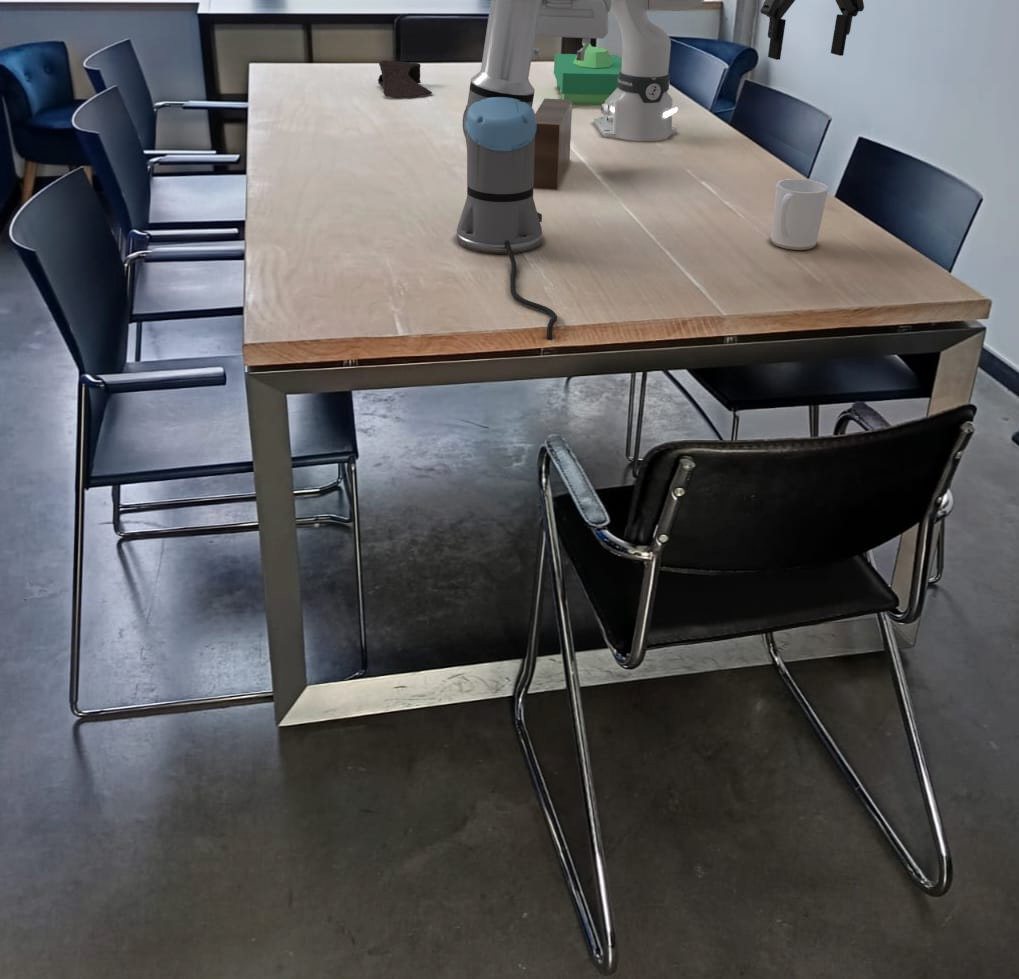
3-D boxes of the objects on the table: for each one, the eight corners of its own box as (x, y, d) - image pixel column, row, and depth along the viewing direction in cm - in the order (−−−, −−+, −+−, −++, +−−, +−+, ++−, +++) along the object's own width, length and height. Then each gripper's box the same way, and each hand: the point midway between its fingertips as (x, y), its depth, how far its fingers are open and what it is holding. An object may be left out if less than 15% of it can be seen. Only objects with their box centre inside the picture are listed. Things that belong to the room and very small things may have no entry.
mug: (782, 231, 203) (791, 175, 197) (827, 242, 198) (837, 185, 193) (753, 245, 196) (761, 188, 190) (799, 257, 191) (809, 198, 185)
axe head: (443, 87, 294) (392, 77, 287) (436, 115, 299) (385, 106, 292) (421, 62, 307) (371, 52, 300) (414, 89, 311) (365, 80, 304)
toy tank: (614, 36, 311) (632, 59, 281) (611, 81, 317) (628, 108, 287) (553, 34, 310) (563, 57, 280) (550, 80, 316) (561, 107, 286)
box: (556, 189, 223) (559, 124, 217) (527, 187, 224) (529, 122, 217) (569, 160, 243) (572, 99, 236) (542, 158, 244) (544, 98, 237)
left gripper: (871, -80, 192) (849, 49, 203) (751, -78, 183) (735, 56, 194) (899, -76, 186) (875, 56, 197) (777, -74, 177) (758, 64, 189)
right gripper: (613, -14, 221) (608, 58, 229) (513, -18, 224) (512, 53, 231) (610, -9, 216) (606, 64, 224) (508, -13, 219) (507, 60, 226)
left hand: (805, 56), depth 196 cm, fingers open, 13 cm apart
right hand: (557, 59), depth 228 cm, fingers open, 8 cm apart
